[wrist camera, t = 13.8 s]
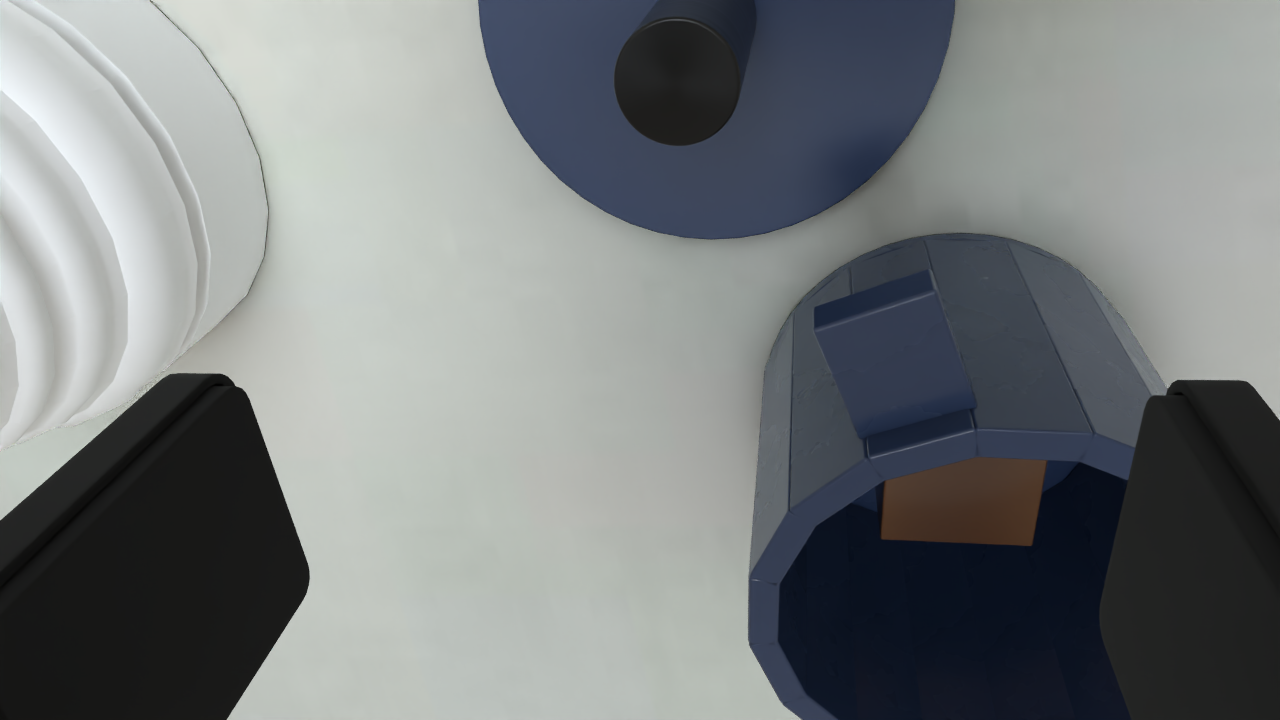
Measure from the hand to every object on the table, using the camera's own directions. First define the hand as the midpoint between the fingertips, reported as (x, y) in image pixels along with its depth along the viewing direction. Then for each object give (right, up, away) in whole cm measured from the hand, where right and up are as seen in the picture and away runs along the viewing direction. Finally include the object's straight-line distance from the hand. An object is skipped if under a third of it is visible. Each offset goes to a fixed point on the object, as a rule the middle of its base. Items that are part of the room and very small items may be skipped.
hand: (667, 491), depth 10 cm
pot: (+9, 0, +18) cm, 20 cm away
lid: (+1, +10, +13) cm, 16 cm away
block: (+9, 0, +18) cm, 20 cm away
